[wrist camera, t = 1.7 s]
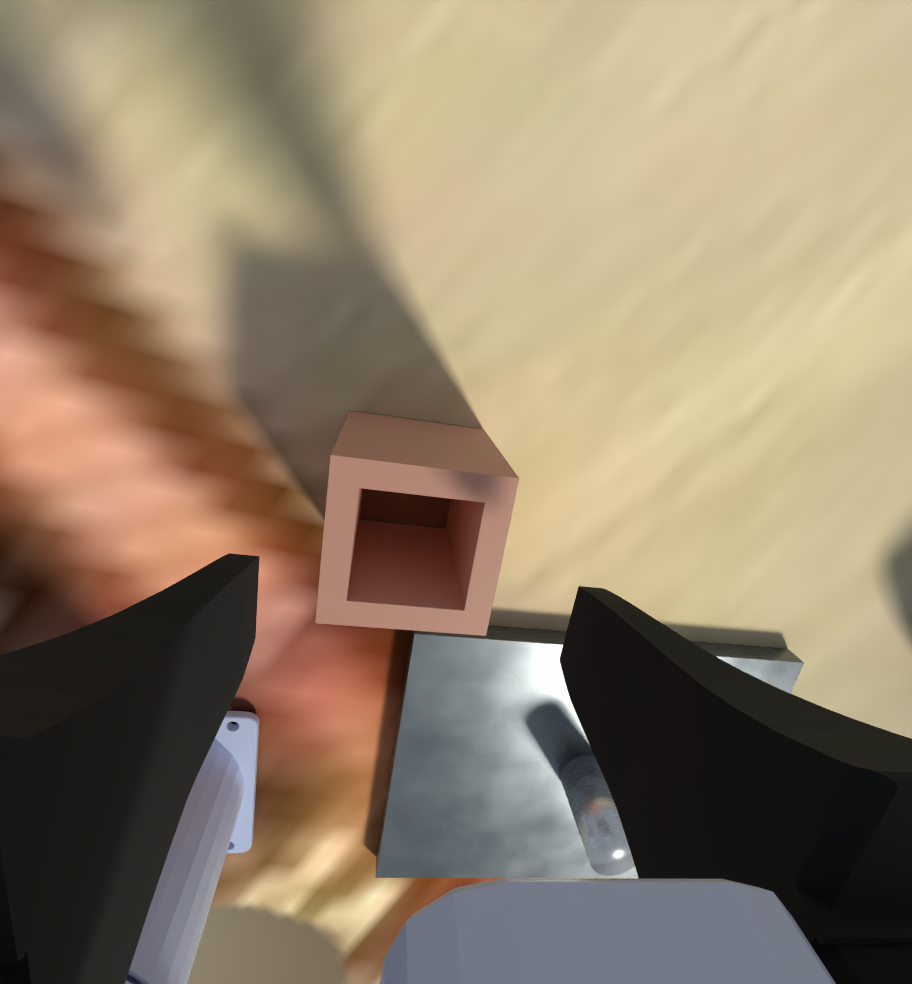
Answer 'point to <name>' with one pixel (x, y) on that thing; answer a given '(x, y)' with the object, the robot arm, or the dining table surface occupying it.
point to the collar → (414, 527)
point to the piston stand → (508, 762)
